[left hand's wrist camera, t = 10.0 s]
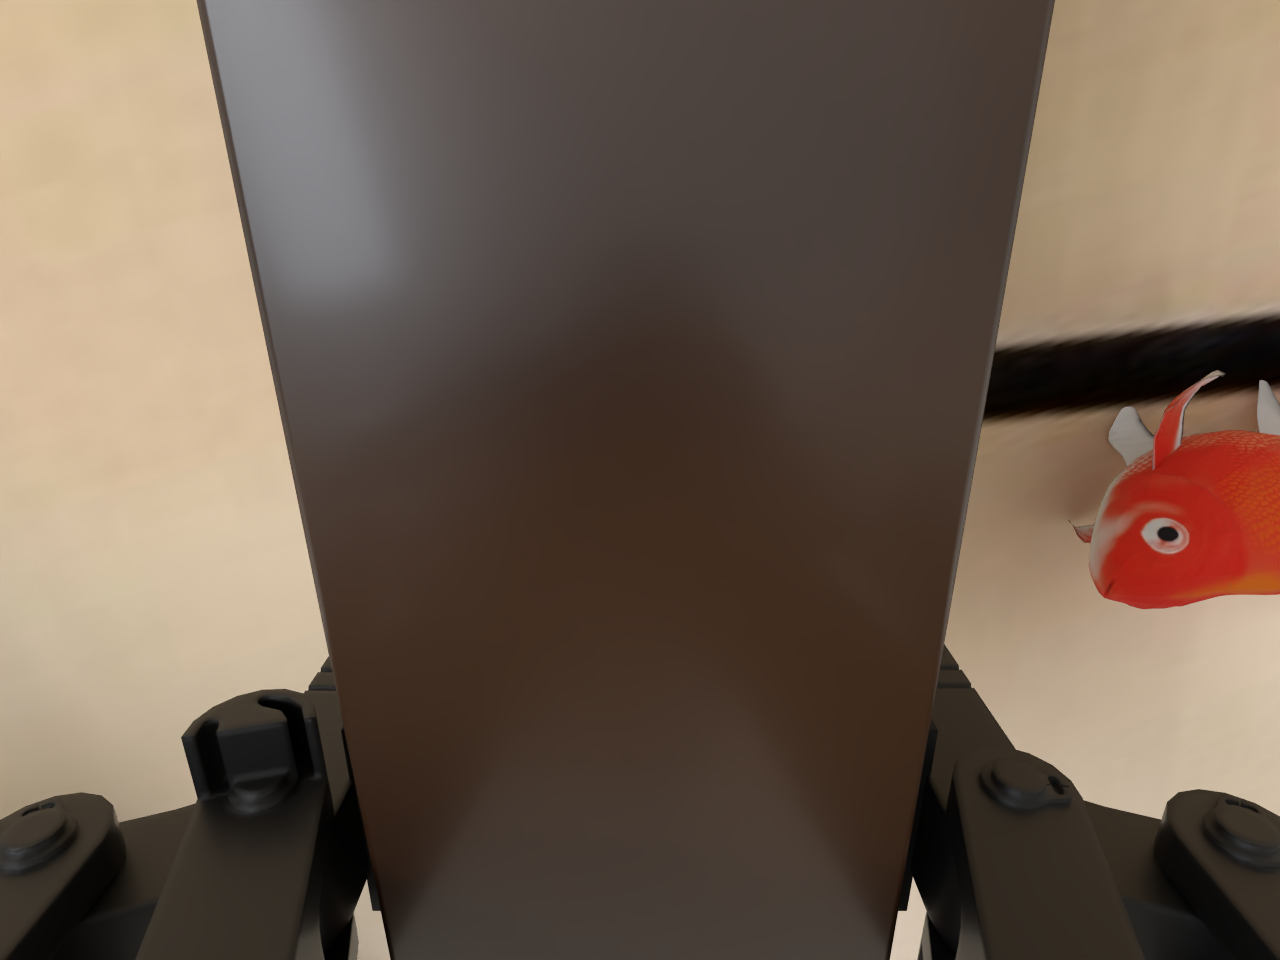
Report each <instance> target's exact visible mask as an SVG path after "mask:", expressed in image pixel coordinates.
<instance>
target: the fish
mask: <svg viewBox="0 0 1280 960" xmlns="http://www.w3.org/2000/svg"><path fill="white" fill-rule="evenodd" d="M1224 375H1225V373H1223V372H1221V371H1219V370H1216V371H1214V372H1212V373H1210V374H1209V375H1207V376H1206V377H1204V378H1203V379H1202V380H1200V381H1199V382H1197V383H1196V384H1194V385H1193V386H1191V387H1189V388H1188V389H1186V390H1185V391H1184V392H1182V393H1181V394H1180V395H1179V396H1177V397H1176V398H1175V399H1174V400H1173V401H1172V402H1171V403H1170V404H1169V406H1168V407H1167V408H1166V409H1165V411H1164V414H1163V418H1162V420H1161V422H1160V425H1159V427H1158V429H1157V431H1156V433H1155V435H1154V436H1153V435H1152V434H1151V433H1150V432H1149V431H1148V430H1147V428H1146V427H1145V425H1144V424H1143V422H1142V420H1141V419H1140V417H1139V415H1138V413H1137V411H1136V409H1135V408H1133V407H1124V408H1123V409H1121V411H1120V412H1119V414H1118V415H1117V417H1116V419H1115V421H1114V423H1113V425H1112V427H1111V429H1110V431H1109V437H1108V440H1109V442H1110V444H1111V445H1112V446H1113V447H1114V448H1115V450H1117V451H1118V452H1119V453H1120V454H1121V455H1122V457H1123V458H1124V460H1125V463H1126V468H1125V469H1124V470H1123V471H1122V472H1121V473H1120V474H1119V475H1118V476H1116V477H1115V478H1114V480H1113V481H1112V483H1111V484H1110V485H1109V487H1108V489H1107V491H1106V493H1105V495H1104V498H1103V500H1102V502H1101V505H1100V508H1099V511H1098V514H1097V518H1096V521H1095V525H1089V526H1081V527H1074V526H1073V527H1074V529H1075V531H1076V533H1077V535H1078V537H1079V538H1080V539H1081V540H1082V541H1083V542H1084V543H1091V546H1090V554H1089V570H1090V574H1091V577H1092V579H1093V581H1094V583H1095V586H1096V588H1097V590H1098V591H1099V593H1100V594H1101V595H1102V596H1103V597H1104V598H1107V599H1110V600H1114V601H1118V602H1122V603H1126V604H1128V605H1130V606H1133V607H1136V608H1140V609H1153V608H1169V607H1174V606H1184V605H1187V604H1191V603H1194V602H1198V601H1202V600H1206V599H1209V598H1213V597H1217V596H1223V595H1238V594H1253V595H1276V594H1280V404H1279V402H1278V401H1277V399H1276V397H1275V395H1274V393H1273V392H1272V390H1271V388H1270V386H1269V384H1268V383H1267V382H1266V381H1263V380H1260V381H1259V395H1258V404H1257V419H1258V426H1259V432H1250V431H1240V430H1229V431H1220V432H1211V433H1203V434H1195V435H1191V436H1187V437H1184V438H1182V434H1183V419H1184V412H1185V409H1186V407H1187V405H1188V403H1189V401H1190V400H1191V399H1192V397H1193V396H1194V395H1195V393H1196V392H1197V391H1198V390H1199V389H1200V387H1201V386H1203V385H1205V384H1206V383H1208V382H1210V381H1212V380H1214V379H1215V378H1217V377H1219V376H1220V377H1223V376H1224ZM1069 522H1070V521H1069ZM1070 523H1071V522H1070ZM1071 524H1072V523H1071Z"/></svg>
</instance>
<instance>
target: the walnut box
mask: <svg viewBox="0 0 1280 960" xmlns="http://www.w3.org/2000/svg"><path fill="white" fill-rule="evenodd" d="M1054 2H1055V0H197V4H198V9H199V14H200V19H201V24H202V29H203V34H204V39H205V44H206V49H207V54H208V59H209V64H210V69H211V74H212V79H213V84H214V89H215V93H216V98H217V103H218V108H219V113H220V118H221V123H222V128H223V133H224V138H225V143H226V148H227V153H228V158H229V163H230V168H231V173H232V177H233V182H234V187H235V192H236V197H237V202H238V207H239V212H240V217H241V222H242V227H243V232H244V237H245V242H246V247H247V252H248V257H249V262H250V266H251V271H252V276H253V281H254V286H255V291H256V296H257V301H258V306H259V311H260V316H261V321H262V326H263V331H264V336H265V341H266V346H267V350H268V355H269V360H270V365H271V370H272V375H273V380H274V385H275V390H276V395H277V400H278V405H279V410H280V415H281V420H282V425H283V430H284V435H285V439H286V444H287V449H288V454H289V459H290V464H291V469H292V474H293V479H294V484H295V489H296V494H297V499H298V504H299V509H300V514H301V519H302V523H303V528H304V533H305V538H306V543H307V548H308V553H309V558H310V563H311V568H312V573H313V578H314V583H315V588H316V593H317V598H318V603H319V608H320V612H321V617H322V622H323V627H324V632H325V637H326V642H327V647H328V652H329V657H330V662H331V667H332V672H333V677H334V682H335V687H336V692H337V696H338V701H339V706H340V711H341V716H342V721H343V726H344V731H345V736H346V741H347V746H348V751H349V756H350V761H351V766H352V771H353V776H354V780H355V785H356V790H357V795H358V800H359V805H360V810H361V815H362V820H363V825H364V830H365V835H366V840H367V845H368V850H369V855H370V860H371V865H372V869H373V874H374V879H375V884H376V889H377V894H378V899H379V904H380V909H381V914H382V919H383V924H384V929H385V934H386V939H387V944H388V949H389V953H390V958H391V960H890V954H891V949H892V943H893V937H894V931H895V925H896V920H897V914H898V908H899V902H900V896H901V890H902V885H903V879H904V873H905V867H906V861H907V856H908V850H909V844H910V838H911V832H912V827H913V821H914V815H915V809H916V803H917V798H918V792H919V786H920V780H921V774H922V769H923V763H924V757H925V751H926V745H927V739H928V734H929V728H930V722H931V716H932V710H933V705H934V699H935V693H936V687H937V681H938V676H939V670H940V664H941V658H942V652H943V647H944V641H945V635H946V629H947V623H948V618H949V612H950V606H951V600H952V594H953V589H954V583H955V577H956V571H957V565H958V559H959V554H960V548H961V542H962V536H963V530H964V525H965V519H966V513H967V507H968V501H969V496H970V490H971V484H972V478H973V472H974V467H975V461H976V455H977V449H978V443H979V438H980V432H981V426H982V420H983V414H984V408H985V403H986V397H987V391H988V385H989V379H990V374H991V368H992V362H993V356H994V350H995V345H996V339H997V333H998V327H999V321H1000V316H1001V310H1002V304H1003V298H1004V292H1005V287H1006V281H1007V275H1008V269H1009V263H1010V258H1011V252H1012V246H1013V240H1014V234H1015V228H1016V223H1017V217H1018V211H1019V205H1020V199H1021V194H1022V188H1023V182H1024V176H1025V170H1026V165H1027V159H1028V153H1029V147H1030V141H1031V136H1032V130H1033V124H1034V118H1035V112H1036V107H1037V101H1038V95H1039V89H1040V83H1041V77H1042V72H1043V66H1044V60H1045V54H1046V48H1047V43H1048V37H1049V31H1050V25H1051V19H1052V14H1053V8H1054Z"/></svg>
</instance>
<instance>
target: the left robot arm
mask: <svg viewBox="0 0 1280 960" xmlns="http://www.w3.org/2000/svg"><path fill="white" fill-rule="evenodd" d="M181 739H182V742H183V746H184V750H185V753H186V757H187V761H188V764H189V768H190V772H191V775H192V779H193V783H194V786H195V790H196V794H197V797H198V800H197V802H196V804H193V805H189V806H186V807H183V808H180V809H176V810H172V811H168V812H163V813H159V814H155V815H151V816H146V817H142V818H138V819H133V820H129V821H125V822H120V823H118V820H117V816H116V813H115V810H114V807H113V805H112V804H111V803H110V802H108V801H107V800H106V799H105V798H104V797H103V796H101V795H94V794H88V793H75V794H68V795H61V796H54V797H52V798H49V799H46V800H43V801H40V802H37V803H34V804H31V805H28V806H26V807H24V808H22V809H20V810H18V811H16V812H14V813H13V814H11V815H9V816H7V817H5V818H3V819H2V820H0V960H357V952H358V936H357V929H356V922H355V917H354V910H355V907H356V905H357V902H358V900H359V897H360V895H361V892H362V890H363V887H364V885H365V882H366V880H367V881H368V887H369V893H370V898H371V904H372V910H373V911H381V909H380V904H379V899H378V894H377V889H376V884H375V879H374V874H373V869H372V865H371V860H370V855H369V850H368V845H367V840H366V835H365V830H364V825H363V820H362V815H361V810H360V805H359V800H358V795H357V790H356V785H355V780H354V776H353V771H352V766H351V761H350V756H349V751H348V746H347V741H346V736H345V731H344V726H343V721H342V716H341V711H340V706H339V701H338V696H337V692H336V687H335V682H334V677H333V672H332V667H331V662H330V657H328V658H327V660H326V661H325V663H324V664H323V666H322V667H321V672H318V673H317V675H316V676H315V678H314V679H313V681H312V682H311V684H310V685H309V690H308V691H305V692H304V694H303V693H299V692H295V691H291V690H287V689H274V690H260V691H256V692H252V693H248V694H244V695H240V696H236V697H234V698H232V699H230V700H228V701H225V702H223V703H221V704H219V705H216V706H214V707H213V708H211V709H210V710H208V711H207V712H206V713H204V714H203V715H202V716H200V717H199V718H197V719H196V720H195V721H193V723H192V724H191V725H190V727H189V728H188V729H187V731H186V732H185V733H184V734H183V736H182V737H181ZM912 878H914V880H915V883H916V885H917V888H918V890H919V893H920V895H921V898H922V900H923V903H924V905H925V908H926V910H927V912H926V917H925V922H924V928H923V933H922V938H921V944H920V949H919V954H918V960H1280V816H1278V815H1276V814H1274V813H1272V812H1270V811H1268V810H1267V809H1265V808H1263V807H1261V806H1259V805H1257V804H1255V803H1253V802H1250V801H1247V800H1244V799H1241V798H1238V797H1235V796H1232V795H1230V794H1227V793H1222V792H1215V791H1207V790H1200V789H1197V790H1191V791H1184V792H1178V793H1177V794H1176V795H1175V796H1174V797H1173V798H1171V799H1170V800H1169V801H1168V802H1167V804H1166V808H1165V811H1164V814H1163V817H1162V820H1160V819H1156V818H1151V817H1147V816H1143V815H1138V814H1134V813H1130V812H1125V811H1121V810H1117V809H1112V808H1108V807H1104V806H1100V805H1097V804H1094V803H1090V802H1087V801H1084V800H1083V798H1082V797H1081V795H1080V794H1079V792H1078V791H1077V789H1076V788H1075V786H1074V785H1073V783H1072V781H1071V780H1070V779H1068V778H1067V777H1066V776H1065V775H1063V774H1062V773H1061V772H1060V771H1059V770H1057V769H1056V768H1055V767H1054V766H1053V765H1051V764H1049V763H1047V762H1045V761H1043V760H1041V759H1039V758H1037V757H1035V756H1033V755H1031V754H1029V753H1026V752H1022V751H1018V750H1016V749H1015V748H1014V746H1013V745H1012V743H1011V742H1010V740H1009V739H1008V737H1007V736H1006V734H1005V733H1004V731H1003V730H1002V729H1001V727H1000V726H999V724H998V723H997V721H996V720H995V718H994V717H993V715H992V714H991V712H990V711H989V709H988V708H987V707H986V705H985V704H984V702H983V701H982V699H981V698H980V696H979V695H978V693H977V692H976V690H975V689H974V688H971V683H970V682H969V680H968V679H967V677H966V676H965V674H964V673H963V671H962V670H959V665H958V664H957V662H956V661H955V659H954V658H953V657H952V655H951V654H950V652H949V651H948V649H947V648H946V646H945V645H944V647H943V652H942V658H941V664H940V670H939V676H938V681H937V687H936V693H935V699H934V705H933V710H932V716H931V722H930V728H929V734H928V739H927V745H926V751H925V757H924V763H923V769H922V774H921V780H920V786H919V792H918V798H917V803H916V809H915V815H914V821H913V827H912V832H911V838H910V844H909V850H908V856H907V861H906V867H905V873H904V879H903V885H902V890H901V896H900V902H899V908H898V911H907V906H908V900H909V895H910V889H911V883H912Z"/></svg>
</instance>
